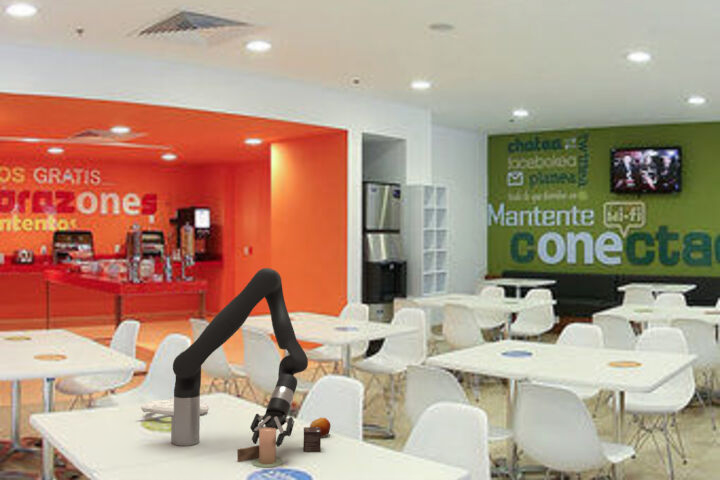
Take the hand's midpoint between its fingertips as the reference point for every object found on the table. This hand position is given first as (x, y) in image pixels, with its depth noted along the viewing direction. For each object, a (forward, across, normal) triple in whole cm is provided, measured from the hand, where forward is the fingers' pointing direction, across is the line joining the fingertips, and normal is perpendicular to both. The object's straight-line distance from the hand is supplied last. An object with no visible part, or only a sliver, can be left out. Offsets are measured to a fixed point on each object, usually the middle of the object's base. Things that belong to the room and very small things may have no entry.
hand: (265, 444), depth 258 cm
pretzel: (-29, -64, +39) cm, 80 cm away
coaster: (+4, 0, +6) cm, 7 cm away
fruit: (-23, +4, +33) cm, 40 cm away
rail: (+1, -6, +8) cm, 10 cm away
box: (-10, +8, +20) cm, 24 cm away
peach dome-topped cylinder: (+3, 0, +6) cm, 6 cm away
